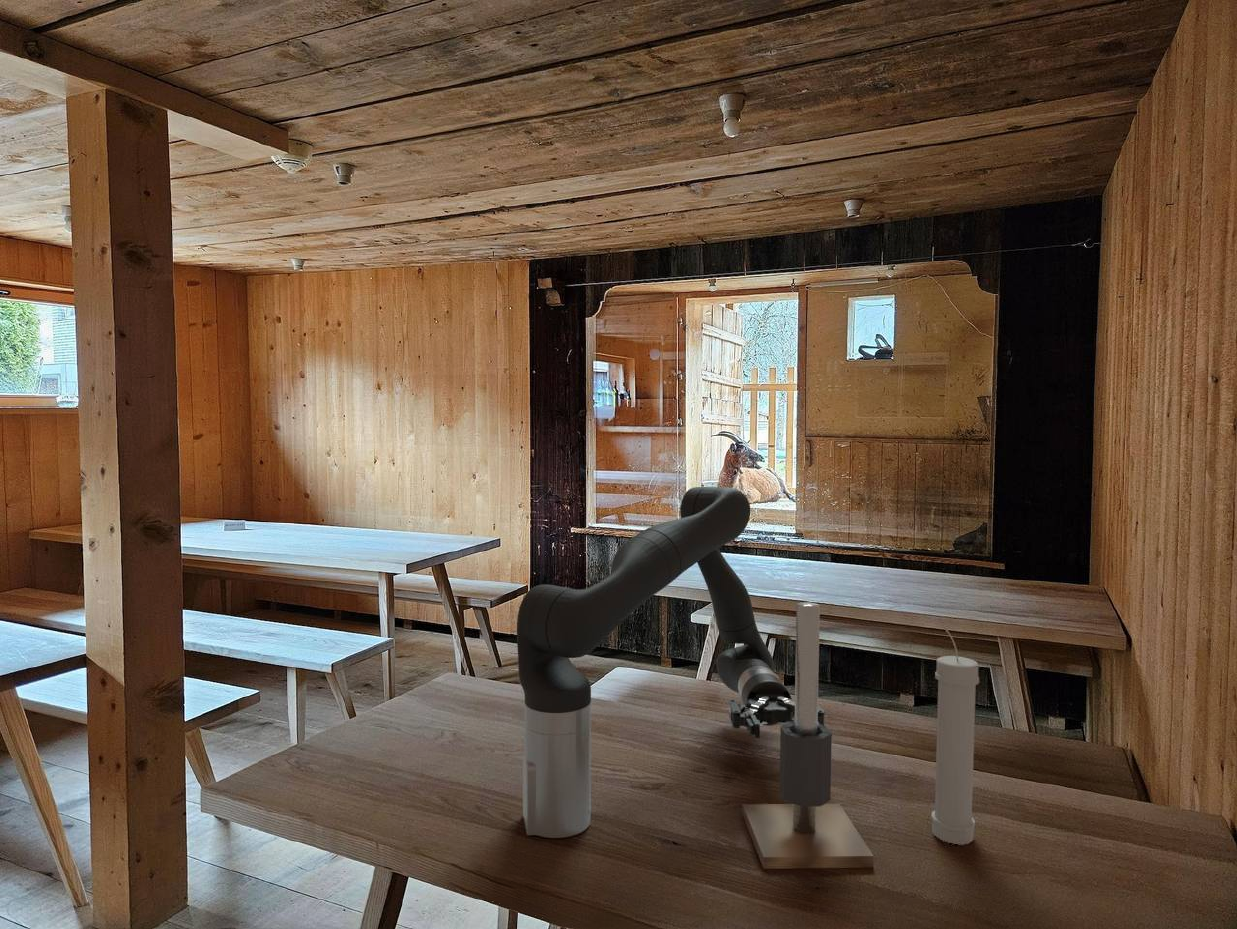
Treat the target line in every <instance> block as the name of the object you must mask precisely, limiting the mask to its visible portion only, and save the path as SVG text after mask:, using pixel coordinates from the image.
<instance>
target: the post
mask: <svg viewBox="0 0 1237 929" xmlns="http://www.w3.org/2000/svg"><path fill="white" fill-rule="evenodd" d="M820 611H821V605H820V604H818V603H815V602H797V603H796V616H795V619H796V621H795V622H796V623H795V624H796V626H795V627H796V628H795V671H794V672H795V673H794V674H795V677H794V680H795V682H794V683H795V684H794V685H795V686H794V688H795V689H794V701H795V725H794V733H795V734H798V735H802V736H817V726H818V705H819V667H820V666H819V664H820V663H819V662H820V660H819V659H820V622H821V621H820V620H821V619H820V617H821V616H820V615H821V613H820ZM742 816H743V819H744V822H745V825H746V828H747V830H748V832H749V835H750V837H751V840H752V843H753V846H754V848H755V851H756V853H757V856H758V858H759V861H760V863H761V866H762V869H765V870H769V869H771V870H773V869H777V870H779V869H781V870H782V869H784V870H785V869H790V870H792V869H846V868H847V869H853V868H857V869H859V868H865V869H866V868H874V854H873V853H872V851H871V850H870V848H869V847H868V845H867V844H866V842H865V840H864V839H863V838H862V836H861V835H860V833H859V831H858V830H857V828H856V826H854V823H853V822H852V820H851V819H850V818H849V816H848V814H847V813H846V811H845V810H844V808H843V807H842V805H841V804H840V803H825V804H824V805H822V806H815V807H801V806H798V805H795V804H793V803H755V804H753V803H752V804H751V803H749V804H745V803H744V804H742Z"/></svg>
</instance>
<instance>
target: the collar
mask: <svg viewBox="0 0 1237 929" xmlns="http://www.w3.org/2000/svg"><path fill="white" fill-rule="evenodd" d="M794 725H795V721H790V722H788V723H787V724H782V725H781V726H780V732H779V733H780V736H779V737H780V740H779V743H780V744H779V749H780V750H779V751H780V752H779V793H780V795H781V797H782V799H783V801H785V802H788V803H789V804H795V805H798V806H801V807H815V806H822V805H824V804H827V803H828V802H830V800H831V794H832V793H831V789H832V787H831V786H832V784H831V782H832V743H833V742H832V740H833V738H832V735H833V734H832V732H831V730H830V729H829V728H828V727H827V725H825V724H824V725H820V724H818V726H817V736H802V735H798V734H795V733H794Z"/></svg>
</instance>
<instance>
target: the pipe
mask: <svg viewBox="0 0 1237 929" xmlns="http://www.w3.org/2000/svg"><path fill="white" fill-rule="evenodd" d="M930 619H931V620H933V621H935V623H936V624H938V625H940V626H941V627H942V629H943V630H945V632H946V633H947V634H948V636H949V637H950V639H951V642H952V644H953V646H954V651H955V655H956V656H955V655H944V656H940V657H938V658H937V659H936V671H935V673H934V675H935V676H934V679H935V680H937V681H938V682H937V684H938V685H937V690H938V691H937V717H936V718H937V720H936V750H935V752H936V754H935V755H936V757H935V758H936V759H935V760H936V761H935V763H936V764H935V786H934V787H935V791H934V792H935V793H934V794H935V795H934V799H935V800H934V810H933V811H931V819H930V820H931V822H932V826H931V827H932V828H931V830H932V831H931V832H932V834H933V835H934V837H935V836H936V837H937V838H936V837H935V838H936V839H938V838H939V839H940V840H939V839H938V840H939V841H941V840H942V841H941V842H944V841H945V842H944V843H946V842H948V843H947V844H949V843H953V844H952V845H954V844H958V845H957V846H966V845H970V844H971V843H972V842H973V841H974V832H975V831H974V829H975V828H976V820H975V818H973V788H974V787H973V786H974V782H973V781H974V753H975V749H974V748H975V719H976V718H975V717H976V716H975V714H976V687H977V685H979V684H980V677H979V663H978V662H977V661H975V660H974V659H971V658H967V657H964V656H959V655H958V649H957V644H956V642H955V640H954V638H953V636H952V634H951V633H950V631H949V630H948V629H947V628H946V627H945V626H944V625H943V624H942V623H941V622H940V621H939V620H937V619H936V618H934V617H930ZM970 842H971V843H970ZM969 843H970V844H969ZM965 844H966V845H965Z"/></svg>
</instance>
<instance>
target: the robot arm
mask: <svg viewBox="0 0 1237 929" xmlns="http://www.w3.org/2000/svg"><path fill="white" fill-rule="evenodd" d="M679 510H680V512H679V514H680V518H677V519H672V520H668V521H665V522H661V523H658V524H655V525H652V526H650V527H648V528H646V529H644V530H642V531H640V532H639V533H637V534H635V535H634V536H633V537H630V539H628V540H626V541H625V542H624V543H623V544H622V545H620V547H619V548H618V549H617V550H616V552H615V554H614V557H613V560H612V563H611V567H610V574H608V576H606V577H605V578H604V579H602V580H600V581H599V582H597V583H596V584H594V585H592V586H589V587H587V588H583V589H575V588H570V587H564V586H558V585H553V584H539V585H538V584H537V585H536V586H534V587H532V588H530V589H529V590H528V591H527V592H526V593H525V595H524V597H523V598H522V600H521V603H520V604H519V607H518V612H517V619H516V643H517V644H516V646H517V663H518V678H519V682H520V685H521V688H522V690H523V694H524V750H523V751H522V817H523V822H524V827H525V828H524V829H525V833H526V836H539V837H542V838H547V839H549V838H550V839H561V838H562V839H563V838H569V837H574V836H576V835H578V834H581V833H583V832H584V831H585V830H586V829H588V827H589V826H590V824H591V812H592V811H591V810H592V809H591V808H592V805H591V804H592V803H591V794H592V792H591V784H592V783H591V782H592V780H591V775H592V774H591V773H592V771H591V770H592V769H591V768H592V763H591V762H592V760H591V759H592V758H591V757H592V755H591V754H592V753H591V752H592V745H591V744H592V736H591V735H592V733H591V732H592V714H591V713H592V687H591V682H590V680H589V679H588V678H587V676H586V675H585V674H583V673H582V672H580V670H578V669H577V667H575V666H574V664H573V663H572V661H571V660H570V659H576V658H577V659H578V658H583V657H584V656H586V655H588V654H590V653H592V652H593V651H594V650H595V649H596V648H597V647H599V645H601V643H602V642H604V640H606V639H607V638H608V637H609V635H610V634H612V633H613V631H614V630H615V629H617V627H619V625H621V623H622V622H623V621H624V620H625V619H627V618H628V617H629V616H630V615H631V614H632V613H633V612H634V611H636V610H637V609H639V607H641V606H642V605H643V604H644V603H645V602H648V600H649V599H651V598H652V597H653V596H654V595H656V594H658V593H659V592H660V591H662V590H663V589H664V588H666V587H667V586H669V585H670V584H671V583H672V582H674V581H675V580H676V579H677V578H679V577H680V576H681V575H682V574H683V573H684V572H686V571H687V570H688V569H689V568H692V567H693V566H695V564H697V566H698V568H699V570H700V572H701V575H702V577H703V579H704V582H705V585H706V587H707V590H708V592H709V596H710V600H711V604H712V608H713V612H714V617H715V621H716V625H717V626H716V627H717V630H718V634H719V637H720V638H721V640H723V642H726V643H729V644H736V645H737V644H741V645H740V646H735V647H733V648H728V649H725V650H724V651H722V652H720V653H719V655H718V657H717V658H716V671H717V674H718V677H719V678H720V680H721V682H722V683H723V684H724V685H725V686H726V687H727V688H728V689H729V690H732V691H733V692H736V693H738V694H739V698H740V699H739V700H740V701H741V702H738V700H737V699H733V698H732V699H729V700H728V702H729V703H728V704H729V705H728V707H729V708H728V716H729V720H730V723H731V726H732V727H731V728H733V729H740V728H741V727H744V729H745V730H747V732H748V734H749V735H751V736H753V737H754V739H760V736H761V735H760V734H761V732H760V730H761V727H762V726H766V727H767V726H769V727H770V726H775V725H778V724H781V725H785V724H787V723H788V722H790V721H795V699H793V697H792V695H791V694H790V691H789V690H788V688H787V687H786V685H784V683H783V682H782V680H781V678H780V677H779V675H777V674H776V673H775V672H774V669H775V662H774V659H773V656H772V654H771V652H770V651H769V648H768V646H767V645H766V644H765V642H764V640H763V638H762V637H761V634H760V632H759V630H758V627H757V624H756V619H755V615H754V609H753V605H752V600H751V597H750V594H749V592H748V590H747V588H746V586H745V584H744V583H743V581H742V580H741V578H740V577H739V575H737V573H736V572H735V571H734V569H733V568H732V567H731V565H730V564H729V563H728V562H727V560H726V559H725V556H724V555H723V554H722V552H721V550H720V549H719V548H721V547H723V546H725V545H727V544H728V543H731V542H733V541H734V540H735V539H737V538H739V537H740V535H742V533H743V532H744V531H745V530H746V528H747V526H748V523H749V521H750V518H751V505H750V501H749V499H748V497H747V496H746V495H745V493H743V492H742V491H741V490H740V489H737V488H733V487H729V486H695V487H692V488H690V489H688V490H687V491H686V492H685V493H684V495H683V497H682V499H681V502H680V508H679ZM742 644H743V645H742ZM741 703H742V704H741ZM825 713H826V711H825V710H824V709H823V708H822V707H821V706H820V705H819V704H818V724H820V725H824V726H825Z"/></svg>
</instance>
